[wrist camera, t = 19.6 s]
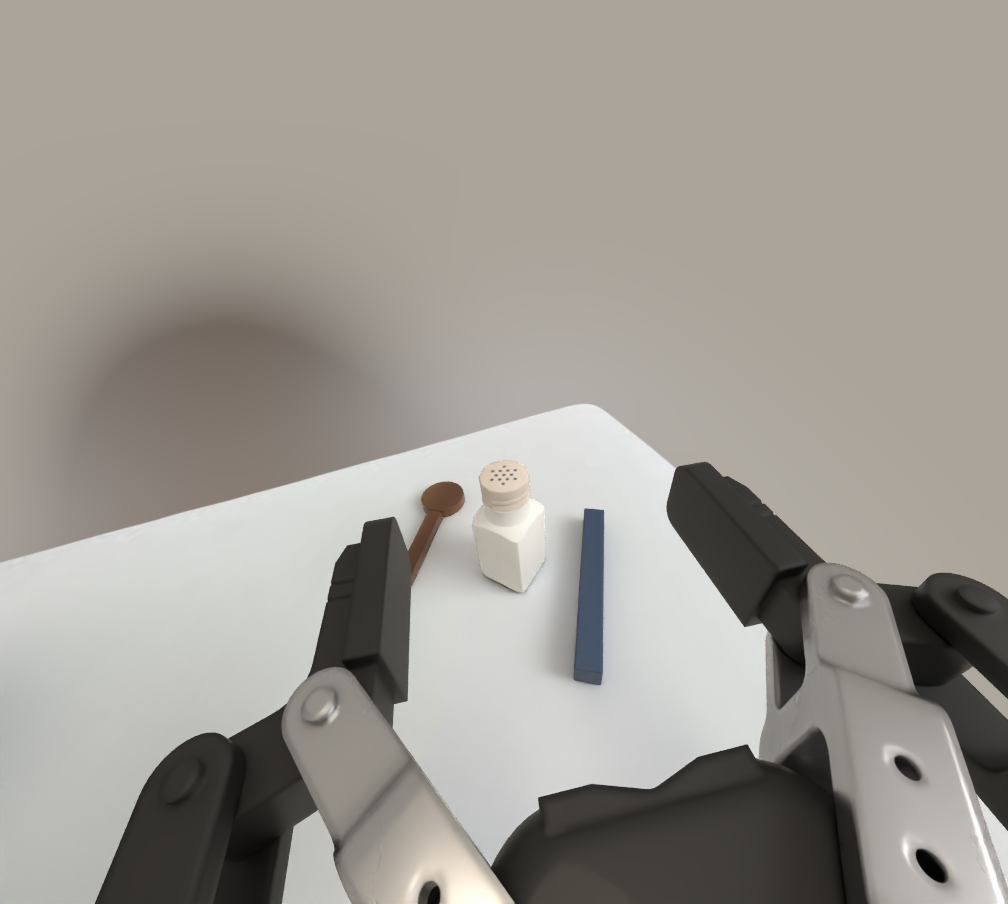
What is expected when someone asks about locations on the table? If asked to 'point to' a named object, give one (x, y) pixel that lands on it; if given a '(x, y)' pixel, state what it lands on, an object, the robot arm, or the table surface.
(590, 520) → the blue stick
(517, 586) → the salt shaker
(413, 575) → the wooden spoon
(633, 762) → the table surface
